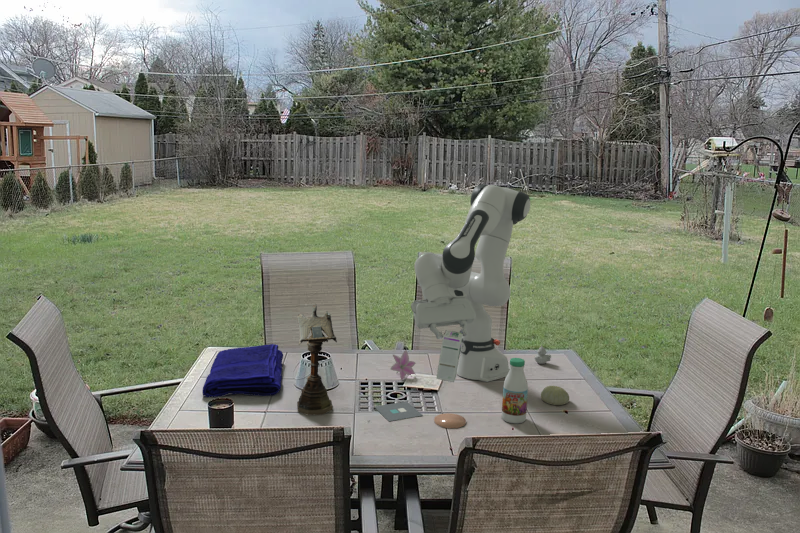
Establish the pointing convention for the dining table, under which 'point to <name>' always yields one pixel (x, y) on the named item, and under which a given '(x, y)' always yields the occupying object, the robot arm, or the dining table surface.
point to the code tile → (398, 411)
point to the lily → (403, 365)
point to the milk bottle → (515, 393)
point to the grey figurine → (542, 356)
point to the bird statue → (315, 362)
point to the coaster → (450, 420)
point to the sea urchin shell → (554, 395)
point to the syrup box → (449, 356)
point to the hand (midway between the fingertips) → (452, 336)
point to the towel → (245, 372)
